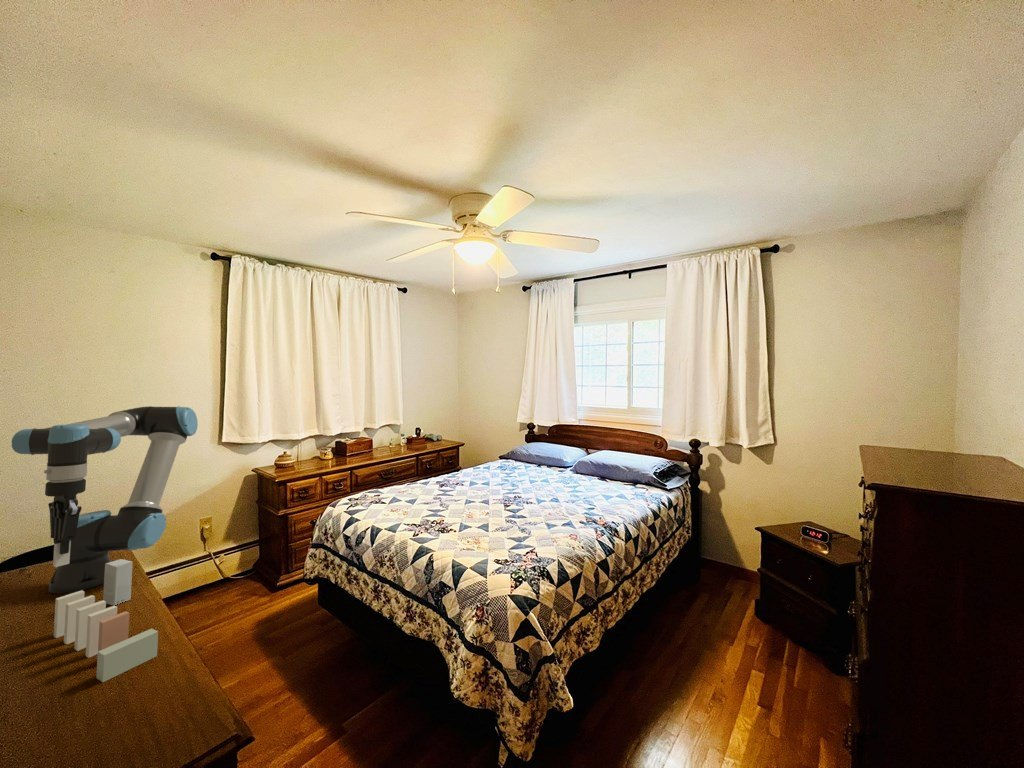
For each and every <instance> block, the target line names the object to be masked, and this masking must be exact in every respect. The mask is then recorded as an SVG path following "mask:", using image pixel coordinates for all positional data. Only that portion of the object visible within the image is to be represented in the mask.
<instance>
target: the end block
mask: <svg viewBox="0 0 1024 768" xmlns="http://www.w3.org/2000/svg"><path fill="white" fill-rule="evenodd" d="M158 643H159V631H158V630H156V629H154V628H149V629H147V630H145V631H142V632H140V633H138V634H135V635H134V636H131V637H128V639H126V640H124V641H121V642H119V643H117V644H114V645H112V646H110V647H107V648H105V649H103V650H100V651H98V654H97V661H96V678H95V679H97V680H98V681H99V682H102V683H104V682H106V681H108V680H111V679H112V678H115V677H116V676H119V675H121V674H124V673H125V672H127V671H130V670H131V669H134V668H136V667H138V666H139V665H142V664H144V663H146V662H148V661H149V660H152V659H154V658H156V657H158Z"/></svg>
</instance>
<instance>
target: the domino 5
mask: <svg viewBox="0 0 1024 768" xmlns="http://www.w3.org/2000/svg"><path fill="white" fill-rule="evenodd" d="M129 631H130V612H129V611H126V610H125V611H123V612H120V613H117V615H115V616H112V617H109V618H107V619H104V620H102V621H100V622H99V641H98V651H100V650H103V649H105V648H107V647H110V646H112V645H114V644H117V643H119V642H121V641H124V640H126V639H128V638H129V633H130V632H129Z"/></svg>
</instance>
